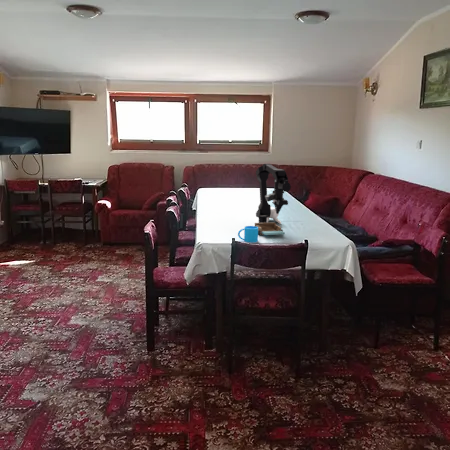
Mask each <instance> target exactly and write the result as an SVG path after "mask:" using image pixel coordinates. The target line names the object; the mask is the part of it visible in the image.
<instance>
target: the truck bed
mask: <svg viewBox="0 0 450 450" xmlns="http://www.w3.org/2000/svg"><path fill="white" fill-rule="evenodd" d="M254 226H256V227H258V236H259V235H260V236H265V235H264V234H262V233H261V232H263V231H282V232H284V230H283V229H282V227H281V226H280V225H277V222H276V221H275V222H274V221H273V222H271V221H270V222H269V221H268V222H267V223H259V222H254ZM278 235H279V236H281V235H282V234H278ZM278 235H277V236H278Z"/></svg>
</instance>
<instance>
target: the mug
mask: <svg viewBox="0 0 450 450" xmlns="http://www.w3.org/2000/svg"><path fill="white" fill-rule="evenodd" d="M242 231H244V235H243V237H241V235H240V233H241V232H242ZM237 233H238V234H237V236H238V238H239V239H240V240H242V241H244V242H246V243H257V242H258V241H259V235H258V227H256V226H255V225H246V226H244V228H241V229H240V230H239V231H238V232H237Z"/></svg>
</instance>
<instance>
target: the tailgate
mask: <svg viewBox="0 0 450 450" xmlns="http://www.w3.org/2000/svg"><path fill="white" fill-rule="evenodd" d="M261 233H262V234H264V235H263V236H278V234H281V235H286V234H285V233H286V232H284V231H283V232H282V231H263V232H261Z"/></svg>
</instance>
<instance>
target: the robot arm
mask: <svg viewBox="0 0 450 450" xmlns="http://www.w3.org/2000/svg"><path fill="white" fill-rule="evenodd" d="M255 174H256V179H257V181H258V182H259V199H260V200H259V201H260V203H259V205H258V206H257V207H258V209H257V211H256V213H255V216H256V218H258V223H267V217H270V214H271V207H272V206H271V204H269V202H271V201H272V202H271V203H272V205H274V208H275V209H276V213H277V214H278V213H279V214H280V211H281V210H282V208H283V206H289V201H288V199H284V194H285V192H290V190H291V188H292V186H291V184H290V183H289V177H288V176H287V175H288V174H287V172H286V170H285V169H283V168H277V167H276V166H273V165H272V163H263V164H262V165H261V166H260V167H258V168H257V169H256V171H255ZM270 174H271V175H272V178H274V180H273V182H274V184H273V185H274V187H273V189H274V190H272V193H268V186H267V181H268V179H269V178H270V177H269V175H270Z"/></svg>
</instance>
